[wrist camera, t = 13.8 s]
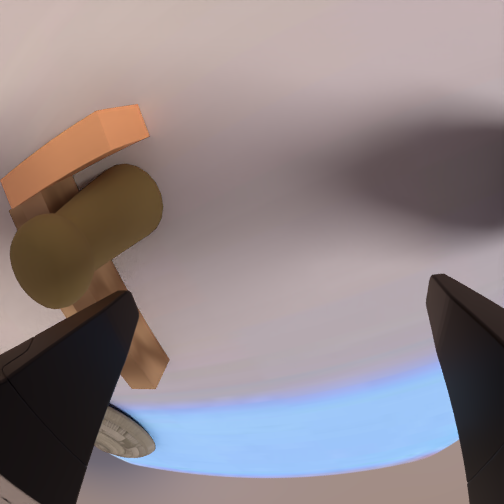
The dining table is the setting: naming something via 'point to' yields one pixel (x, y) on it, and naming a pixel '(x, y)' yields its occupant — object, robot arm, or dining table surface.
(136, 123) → the guide rail
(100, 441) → the flying saucer
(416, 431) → the dining table surface
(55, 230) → the cork
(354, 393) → the dining table surface
